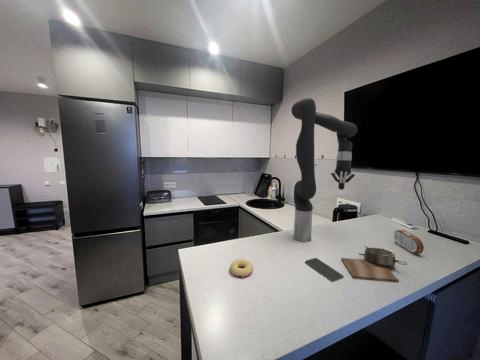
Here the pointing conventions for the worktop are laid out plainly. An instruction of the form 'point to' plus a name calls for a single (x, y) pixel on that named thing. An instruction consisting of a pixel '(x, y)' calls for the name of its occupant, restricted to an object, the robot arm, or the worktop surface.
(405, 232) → the tin
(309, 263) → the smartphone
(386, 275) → the walnut board
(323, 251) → the worktop surface
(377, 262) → the alarm clock
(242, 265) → the donut
